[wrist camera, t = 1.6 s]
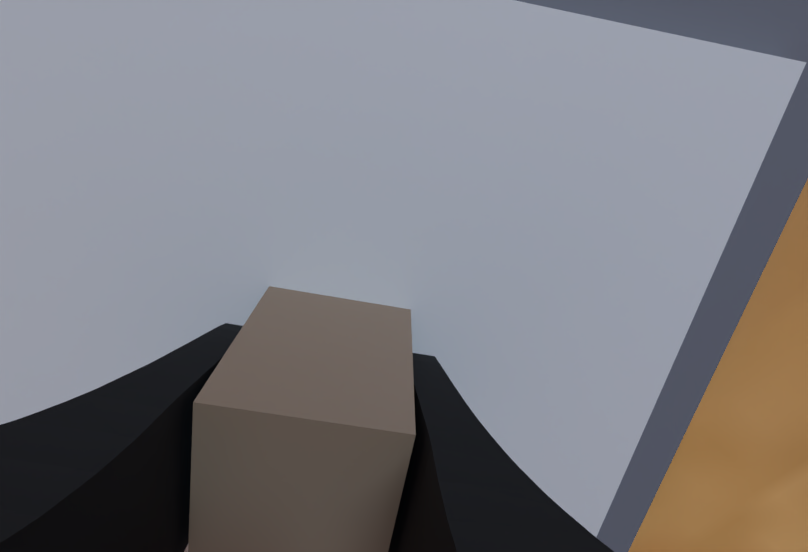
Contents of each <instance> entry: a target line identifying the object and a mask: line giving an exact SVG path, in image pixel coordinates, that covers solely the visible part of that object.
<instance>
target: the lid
mask: <svg viewBox="0 0 808 552" xmlns="http://www.w3.org/2000/svg"><path fill="white" fill-rule="evenodd" d="M805 65H806V62H802V61H797V60H793V59H788V58H783V57H779V56H774V55H769V54H764V53H760V52H755V51H750V50H746V49H741V48H736V47H732V46H727V45H722V44H718V43H713V42H708V41H703V40H699V39H694V38H689V37H685V36H680V35H675V34H671V33H666V32H661V31H656V30H652V29H647V28H642V27H638V26H633V25H628V24H624V23H619V22H614V21H610V20H605V19H600V18H595V17H591V16H586V15H581V14H577V13H572V12H567V11H563V10H558V9H553V8H548V7H544V6H539V5H534V4H530V3H525V2H520V1H516V0H0V425H1V424H5V423H8V422H11V421H14V420H17V419H20V418H23V417H26V416H29V415H31V414H34V413H37V412H39V411H42V410H45V409H47V408H50V407H52V406H55V405H58V404H60V403H63V402H66V401H68V400H71V399H73V398H75V397H78V396H80V395H83V394H85V393H88V392H90V391H92V390H94V389H97V388H99V387H101V386H103V385H105V384H107V383H110V382H112V381H114V380H116V379H118V378H120V377H122V376H124V375H126V374H129V373H131V372H133V371H135V370H137V369H139V368H141V367H143V366H145V365H147V364H149V363H151V362H153V361H155V360H157V359H159V358H161V357H163V356H165V355H166V354H168V353H170V352H172V351H174V350H176V349H178V348H180V347H181V346H183V345H185V344H187V343H189V342H191V341H192V340H194V339H196V338H198V337H200V336H202V335H203V334H205V333H207V332H209V331H211V330H213V329H214V328H216V327H218V326H220V325H223V324H225V323H229V324H235V325H241V326H243V327H242V328H241V330H240V331H239V333H238V334H237V336H236V337H235V339H234V341H233V342H232V344H231V345H230V347H229V348H228V350H227V351H226V353H225V354H224V356H223V357H222V359H221V360H220V362H219V363H218V365H217V366H216V368H215V370H214V371H213V373H212V374H211V376H210V377H209V379H208V380H207V382H206V383H205V385H204V386H203V388H202V389H201V391H200V392H199V394H198V395H197V397H196V399H195V400H194V402H193V421H192V451H191V481H190V512H189V542H188V545H187V547H186V549H185V551H184V552H388V550H389V546H390V542H391V537H392V533H393V529H394V525H395V520H396V516H397V512H398V508H399V504H400V499H401V495H402V491H403V487H404V482H405V478H406V474H407V470H408V466H409V461H410V457H411V453H412V449H413V444H414V440H415V436H416V428H415V403H414V378H413V353H417V354H424V355H430V356H435V357H436V359H437V360H438V362H439V363H440V365H441V366H442V368H443V369H444V371H445V372H446V374H447V375H448V377H449V378H450V380H451V382H452V383H453V385H454V386H455V388H456V389H457V391H458V392H459V393H460V395H461V396H462V398H463V399H464V401H465V402H466V404H467V405H468V406H469V408H470V409H471V410H472V412H473V413H474V414H475V416H476V417H477V419H478V420H479V421H480V422H481V424H482V425H483V426H484V427H485V429H486V430H487V431H488V432H489V434H490V435H491V436H492V437H493V438H494V439H495V441H496V442H497V443H498V444H499V445H500V447H501V448H502V449H503V450H504V451H505V452H506V454H507V455H508V456H509V457H510V458H511V459H512V460H513V461H514V462H515V463H516V464H517V466H518V467H519V468H520V469H521V470H522V471H523V472H524V473H525V474H526V475H527V476H528V477H529V478H530V479H531V480H532V481H533V482H534V483H535V484H536V485H537V486H538V487H539V488H540V489H541V490H542V491H543V492H544V493H546V494H547V495H548V496H549V497H550V498H551V499H552V500H553V501H554V502H555V503H556V504H558V505H559V506H560V507H561V508H562V509H563V510H564V511H565V512H567V513H568V514H569V515H570V516H571V517H573V518H574V519H575V520H576V521H577V522H578V523H580V524H581V525H582V526H583V527H584V528H585V529H587V530H588V531H589V532H590V533H591V534H593V535H594V536H595V537H597V535H598V532H599V530H600V528H601V526H602V523H603V521H604V519H605V517H606V514H607V512H608V510H609V508H610V505H611V503H612V501H613V499H614V496H615V494H616V492H617V489H618V487H619V485H620V483H621V480H622V478H623V476H624V474H625V471H626V469H627V467H628V465H629V462H630V460H631V458H632V456H633V453H634V451H635V449H636V447H637V444H638V442H639V440H640V438H641V435H642V433H643V431H644V428H645V426H646V424H647V422H648V419H649V417H650V415H651V413H652V410H653V408H654V406H655V404H656V401H657V399H658V397H659V395H660V392H661V390H662V388H663V386H664V383H665V381H666V379H667V377H668V374H669V372H670V370H671V367H672V365H673V363H674V361H675V358H676V356H677V354H678V352H679V349H680V347H681V345H682V343H683V340H684V338H685V336H686V334H687V331H688V329H689V327H690V325H691V322H692V320H693V318H694V316H695V313H696V311H697V309H698V306H699V304H700V302H701V300H702V297H703V295H704V293H705V291H706V288H707V286H708V284H709V282H710V279H711V277H712V275H713V273H714V270H715V268H716V266H717V264H718V261H719V259H720V257H721V254H722V252H723V250H724V248H725V245H726V243H727V241H728V239H729V236H730V234H731V232H732V230H733V227H734V225H735V223H736V221H737V218H738V216H739V214H740V212H741V209H742V207H743V205H744V203H745V200H746V198H747V196H748V193H749V191H750V189H751V187H752V184H753V182H754V180H755V178H756V175H757V173H758V171H759V169H760V166H761V164H762V162H763V160H764V157H765V155H766V153H767V151H768V148H769V146H770V144H771V142H772V139H773V137H774V135H775V132H776V130H777V128H778V126H779V123H780V121H781V119H782V117H783V114H784V112H785V110H786V108H787V105H788V103H789V101H790V99H791V96H792V94H793V92H794V90H795V87H796V85H797V83H798V81H799V78H800V76H801V74H802V71H803V69H804V67H805Z"/></svg>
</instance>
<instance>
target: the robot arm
mask: <svg viewBox="0 0 808 552" xmlns="http://www.w3.org/2000/svg"><path fill="white" fill-rule="evenodd" d="M242 327H243V326H241V325H235V324H229V323H225V324H223V325H220V326H218V327H216V328H214V329H213V330H211V331H209V332H207V333H205V334H203V335H202V336H200V337H198V338H196V339H194V340H192V341H191V342H189V343H187V344H185V345H183V346H181V347H180V348H178V349H176V350H174V351H172V352H170V353H168V354H166V355H165V356H163V357H161V358H159V359H157V360H155V361H153V362H151V363H149V364H147V365H145V366H143V367H141V368H139V369H137V370H135V371H133V372H131V373H129V374H126V375H124V376H122V377H120V378H118V379H116V380H114V381H112V382H110V383H107V384H105V385H103V386H101V387H99V388H97V389H94V390H92V391H90V392H88V393H85V394H83V395H80V396H78V397H75V398H73V399H71V400H68V401H66V402H63V403H60V404H58V405H55V406H52V407H50V408H47V409H45V410H42V411H39V412H37V413H34V414H31V415H29V416H26V417H23V418H20V419H17V420H14V421H11V422H8V423H5V424H1V425H0V552H184V551H185V549H186V547H187V545H188V542H189V512H190V481H191V451H192V421H193V402H194V400H195V399H196V397H197V395H198V394H199V392H200V391H201V389H202V388H203V386H204V385H205V383H206V382H207V380H208V379H209V377H210V376H211V374H212V373H213V371H214V370H215V368H216V366H217V365H218V363H219V362H220V360H221V359H222V357H223V356H224V354H225V353H226V351H227V350H228V348H229V347H230V345H231V344H232V342H233V341H234V339H235V337H236V336H237V334H238V333H239V331H240V330H241V328H242ZM413 378H414V403H415V428H416V436H415V440H414V444H413V449H412V453H411V457H410V461H409V466H408V470H407V474H406V478H405V482H404V487H403V491H402V495H401V499H400V504H399V508H398V512H397V516H396V520H395V525H394V529H393V533H392V537H391V542H390V546H389V550H388V552H614V551H613V550H611V549H610V548H609V547H608V546H606V545H605V544H604V543H602V542H601V541H600V540H599V539H597V538H596V537H595V536H594V535H593V534H591V533H590V532H589V531H588V530H587V529H585V528H584V527H583V526H582V525H581V524H580V523H578V522H577V521H576V520H575V519H574V518H573V517H571V516H570V515H569V514H568V513H567V512H565V511H564V510H563V509H562V508H561V507H560V506H559V505H558V504H556V503H555V502H554V501H553V500H552V499H551V498H550V497H549V496H548V495H547V494H546V493H544V492H543V491H542V490H541V489H540V488H539V487H538V486H537V485H536V484H535V483H534V482H533V481H532V480H531V479H530V478H529V477H528V476H527V475H526V474H525V473H524V472H523V471H522V470H521V469H520V468H519V467H518V466H517V464H516V463H515V462H514V461H513V460H512V459H511V458H510V457H509V456H508V455H507V454H506V452H505V451H504V450H503V449H502V448H501V447H500V445H499V444H498V443H497V442H496V441H495V439H494V438H493V437H492V436H491V435H490V434H489V432H488V431H487V430H486V429H485V427H484V426H483V425H482V424H481V422H480V421H479V420H478V419H477V417H476V416H475V414H474V413H473V412H472V410H471V409H470V408H469V406H468V405H467V404H466V402H465V401H464V399H463V398H462V396H461V395H460V393H459V392H458V391H457V389H456V388H455V386H454V385H453V383H452V382H451V380H450V378H449V377H448V375H447V374H446V372H445V371H444V369H443V368H442V366H441V365H440V363H439V362H438V360H437V359H436V357H435V356H430V355H424V354H417V353H413Z"/></svg>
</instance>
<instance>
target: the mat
mask: <svg viewBox="0 0 808 552" xmlns="http://www.w3.org/2000/svg"><path fill="white" fill-rule="evenodd" d="M516 1H520V2H525V3H530V4H534V5H539V6H544V7H548V8H553V9H558V10H563V11H567V12H572V13H577V14H581V15H586V16H591V17H595V18H600V19H605V20H610V21H614V22H619V23H624V24H628V25H633V26H638V27H642V28H647V29H652V30H656V31H661V32H666V33H671V34H675V35H680V36H685V37H689V38H694V39H699V40H703V41H708V42H713V43H718V44H722V45H727V46H732V47H736V48H741V49H746V50H750V51H755V52H760V53H764V54H769V55H774V56H779V57H783V58H788V59H793V60H797V61H802V62H806V65H805V67H804V69H803V71H802V74H801V76H800V78H799V81H798V83H797V85H796V87H795V90H794V92H793V94H792V96H791V99H790V101H789V103H788V105H787V108H786V110H785V112H784V114H783V117H782V119H781V121H780V123H779V126H778V128H777V130H776V132H775V135H774V137H773V139H772V142H771V144H770V146H769V148H768V151H767V153H766V155H765V157H764V160H763V162H762V164H761V166H760V169H759V171H758V173H757V175H756V178H755V180H754V182H753V184H752V187H751V189H750V191H749V193H748V196H747V198H746V200H745V203H744V205H743V207H742V209H741V212H740V214H739V216H738V218H737V221H736V223H735V225H734V227H733V230H732V232H731V234H730V236H729V239H728V241H727V243H726V245H725V248H724V250H723V252H722V254H721V257H720V259H719V261H718V264H717V266H716V268H715V270H714V273H713V275H712V277H711V279H710V282H709V284H708V286H707V288H706V291H705V293H704V295H703V297H702V300H701V302H700V304H699V306H698V309H697V311H696V313H695V316H694V318H693V320H692V322H691V325H690V327H689V329H688V331H687V334H686V336H685V338H684V340H683V343H682V345H681V347H680V349H679V352H678V354H677V356H676V358H675V361H674V363H673V365H672V367H671V370H670V372H669V374H668V377H667V379H666V381H665V383H664V386H663V388H662V390H661V392H660V395H659V397H658V399H657V401H656V404H655V406H654V408H653V410H652V413H651V415H650V417H649V419H648V422H647V424H646V426H645V428H644V431H643V433H642V435H641V438H640V440H639V442H638V444H637V447H636V449H635V451H634V453H633V456H632V458H631V460H630V462H629V465H628V467H627V469H626V471H625V474H624V476H623V478H622V480H621V483H620V485H619V487H618V489H617V492H616V494H615V496H614V499H613V501H612V503H611V505H610V508H609V510H608V512H607V514H606V517H605V519H604V521H603V523H602V526H601V528H600V530H599V532H598V535H597V537H596V538H597V539H599V540H600V541H601V542H602V543H604V544H605V545H606V546H608V547H609V548H610V549H611V550H613V551H614V552H628V550H629V548H630V546H631V544H632V542H633V540H634V538H635V536H636V534H637V532H638V530H639V528H640V525H641V523H642V521H643V519H644V517H645V515H646V513H647V511H648V509H649V507H650V505H651V503H652V501H653V498H654V496H655V494H656V492H657V490H658V488H659V486H660V484H661V482H662V480H663V478H664V476H665V474H666V471H667V469H668V467H669V465H670V463H671V461H672V459H673V457H674V455H675V453H676V451H677V449H678V447H679V444H680V442H681V440H682V438H683V436H684V434H685V432H686V430H687V428H688V426H689V424H690V422H691V420H692V417H693V415H694V413H695V411H696V409H697V407H698V405H699V403H700V401H701V399H702V397H703V395H704V392H705V390H706V388H707V386H708V384H709V382H710V380H711V378H712V376H713V374H714V372H715V370H716V368H717V365H718V363H719V361H720V359H721V357H722V355H723V353H724V351H725V349H726V347H727V345H728V343H729V341H730V338H731V336H732V334H733V332H734V330H735V328H736V326H737V324H738V322H739V320H740V318H741V316H742V314H743V311H744V309H745V307H746V305H747V303H748V301H749V299H750V297H751V295H752V293H753V291H754V289H755V287H756V284H757V282H758V280H759V278H760V276H761V274H762V272H763V270H764V268H765V266H766V264H767V262H768V259H769V257H770V255H771V253H772V251H773V249H774V247H775V245H776V243H777V241H778V239H779V237H780V235H781V232H782V230H783V228H784V226H785V224H786V222H787V220H788V218H789V216H790V214H791V212H792V210H793V208H794V205H795V203H796V201H797V199H798V197H799V195H800V193H801V191H802V189H803V187H804V185H805V183H806V181H807V178H808V0H516Z"/></svg>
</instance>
